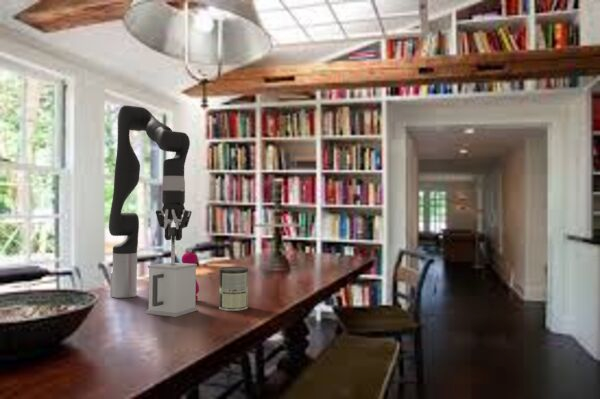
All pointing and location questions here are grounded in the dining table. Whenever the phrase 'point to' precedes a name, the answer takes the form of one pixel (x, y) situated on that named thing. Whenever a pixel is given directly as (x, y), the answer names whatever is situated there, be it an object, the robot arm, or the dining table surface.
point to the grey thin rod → (172, 243)
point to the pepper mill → (191, 259)
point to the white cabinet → (172, 289)
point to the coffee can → (233, 288)
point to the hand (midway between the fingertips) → (173, 239)
